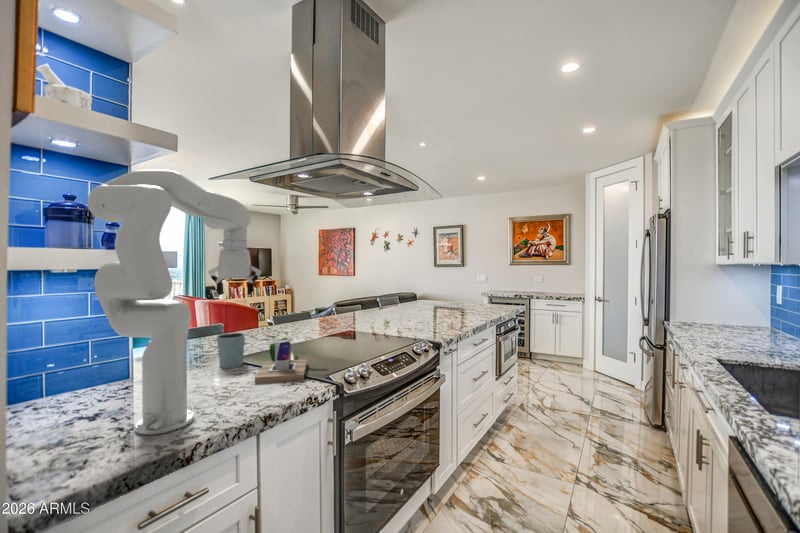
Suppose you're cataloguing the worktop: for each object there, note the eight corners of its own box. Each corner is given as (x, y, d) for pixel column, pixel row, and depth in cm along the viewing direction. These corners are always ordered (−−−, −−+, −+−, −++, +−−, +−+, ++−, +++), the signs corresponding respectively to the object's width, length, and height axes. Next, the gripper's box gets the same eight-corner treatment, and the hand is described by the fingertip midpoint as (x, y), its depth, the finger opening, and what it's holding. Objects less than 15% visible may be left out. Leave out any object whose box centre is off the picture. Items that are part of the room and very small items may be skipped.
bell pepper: (268, 366, 142) (268, 340, 142) (270, 360, 150) (270, 336, 150) (290, 364, 145) (290, 339, 144) (291, 359, 153) (291, 335, 152)
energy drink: (287, 375, 130) (287, 342, 130) (273, 375, 131) (272, 342, 130) (292, 371, 136) (292, 339, 136) (278, 370, 136) (278, 339, 136)
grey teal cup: (238, 368, 139) (238, 337, 139) (211, 368, 139) (211, 337, 139) (248, 361, 149) (248, 332, 149) (224, 361, 149) (224, 332, 149)
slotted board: (303, 380, 125) (303, 373, 125) (254, 383, 122) (254, 376, 122) (307, 364, 145) (307, 358, 145) (265, 366, 142) (265, 360, 142)
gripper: (204, 245, 121) (204, 295, 121) (258, 245, 124) (258, 295, 124) (212, 246, 128) (212, 294, 128) (263, 246, 131) (263, 293, 131)
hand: (235, 294), depth 126 cm, fingers open, 9 cm apart
